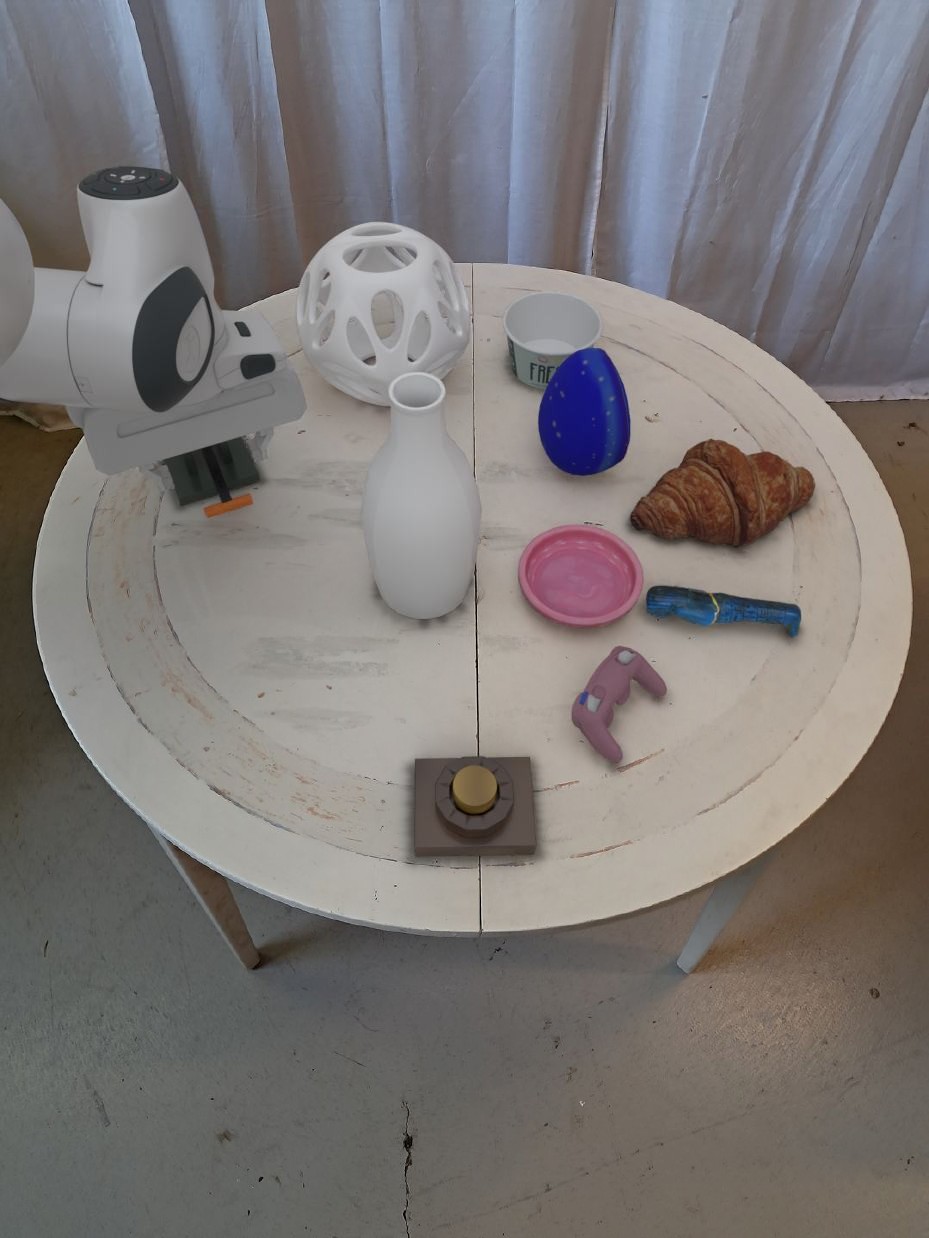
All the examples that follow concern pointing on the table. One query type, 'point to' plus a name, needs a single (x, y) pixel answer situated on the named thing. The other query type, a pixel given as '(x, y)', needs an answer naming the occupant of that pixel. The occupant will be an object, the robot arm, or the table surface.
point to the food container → (548, 333)
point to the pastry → (723, 495)
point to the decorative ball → (353, 297)
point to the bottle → (420, 505)
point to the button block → (473, 834)
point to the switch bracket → (196, 476)
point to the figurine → (720, 608)
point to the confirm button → (474, 789)
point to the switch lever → (222, 488)
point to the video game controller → (612, 697)
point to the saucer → (580, 576)
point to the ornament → (585, 414)
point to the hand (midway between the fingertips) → (213, 471)
